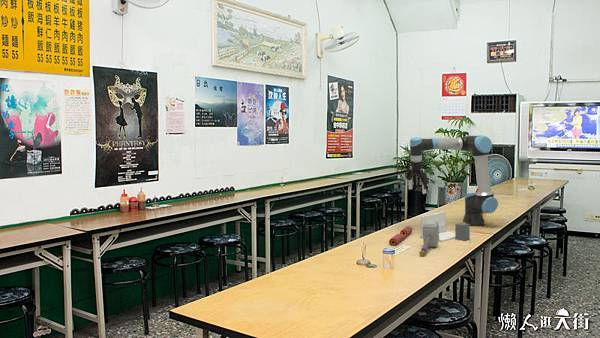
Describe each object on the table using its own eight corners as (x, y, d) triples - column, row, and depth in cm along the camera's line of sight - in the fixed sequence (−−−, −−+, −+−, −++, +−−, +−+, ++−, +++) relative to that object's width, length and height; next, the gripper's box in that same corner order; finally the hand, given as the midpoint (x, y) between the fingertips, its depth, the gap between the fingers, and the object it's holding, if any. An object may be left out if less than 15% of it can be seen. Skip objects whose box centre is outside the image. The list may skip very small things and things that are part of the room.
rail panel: (443, 232, 351) (443, 211, 350) (465, 235, 339) (465, 214, 338) (420, 238, 334) (420, 216, 333) (442, 241, 322) (442, 219, 321)
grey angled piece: (428, 242, 283) (438, 219, 308) (413, 241, 286) (425, 218, 312) (429, 266, 287) (439, 242, 313) (415, 265, 290) (426, 241, 316)
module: (459, 238, 330) (459, 221, 330) (469, 240, 325) (469, 222, 324) (455, 239, 327) (455, 222, 326) (465, 241, 322) (465, 223, 321)
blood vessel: (405, 232, 353) (405, 225, 353) (412, 233, 351) (412, 226, 351) (388, 246, 315) (388, 238, 315) (397, 246, 313) (396, 238, 313)
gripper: (399, 158, 354) (400, 188, 360) (425, 165, 333) (426, 196, 338) (408, 156, 358) (409, 186, 363) (433, 162, 337) (434, 194, 342)
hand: (417, 191), depth 351 cm, fingers open, 13 cm apart
